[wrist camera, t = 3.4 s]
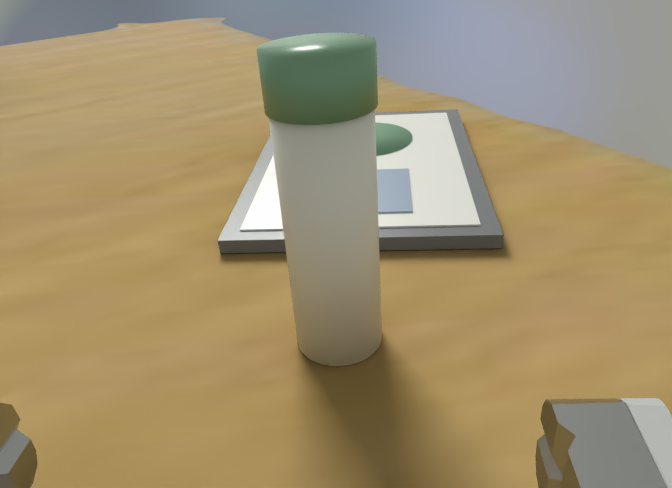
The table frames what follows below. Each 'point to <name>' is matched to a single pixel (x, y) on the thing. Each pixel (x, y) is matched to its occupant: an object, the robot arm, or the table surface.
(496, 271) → the table surface
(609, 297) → the table surface
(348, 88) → the marker
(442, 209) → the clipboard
